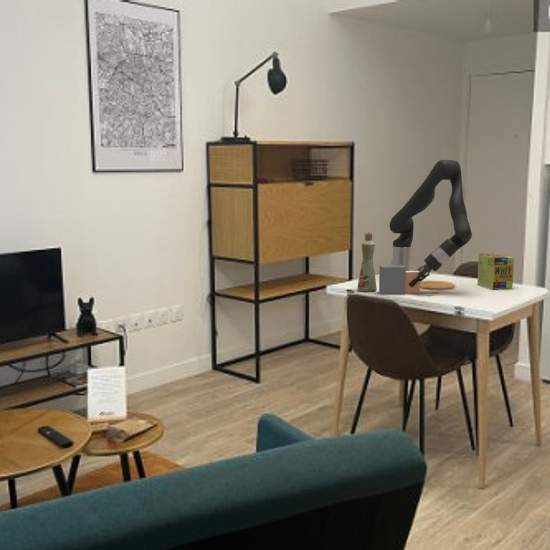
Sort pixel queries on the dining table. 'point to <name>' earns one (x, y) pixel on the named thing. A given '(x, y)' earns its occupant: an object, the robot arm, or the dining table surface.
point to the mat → (431, 293)
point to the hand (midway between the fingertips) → (409, 285)
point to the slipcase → (392, 279)
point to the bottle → (367, 266)
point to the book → (409, 277)
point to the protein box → (495, 271)
